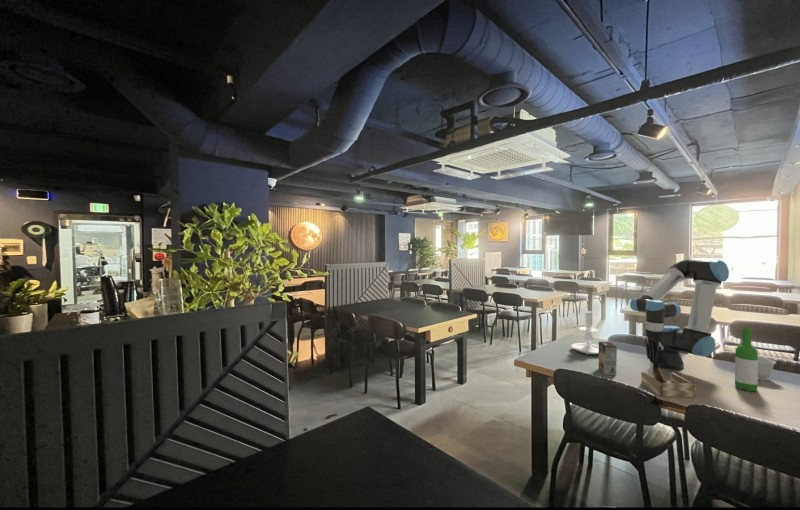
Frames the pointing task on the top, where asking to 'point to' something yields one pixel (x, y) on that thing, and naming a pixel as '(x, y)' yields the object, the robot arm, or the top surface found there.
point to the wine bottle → (746, 364)
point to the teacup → (765, 367)
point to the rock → (659, 375)
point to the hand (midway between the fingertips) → (654, 374)
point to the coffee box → (607, 358)
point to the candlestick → (587, 337)
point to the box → (669, 386)
